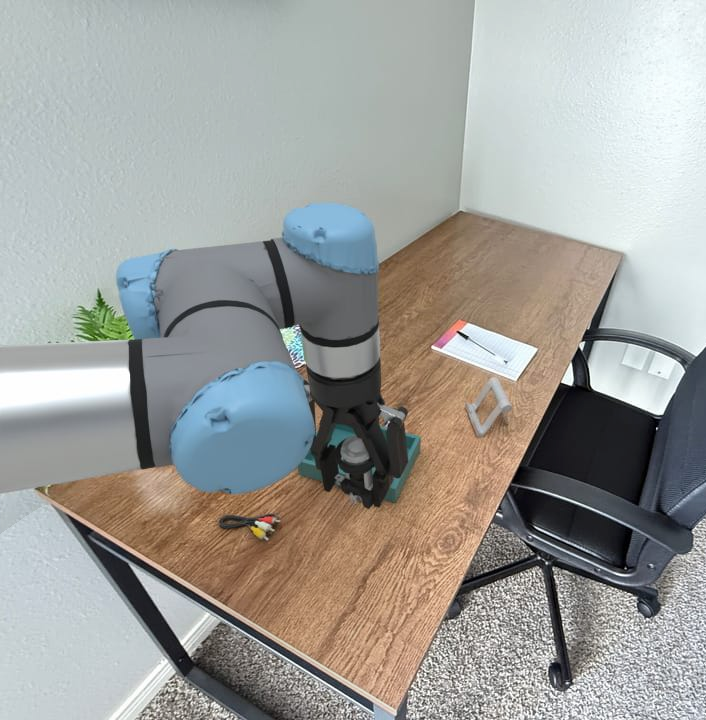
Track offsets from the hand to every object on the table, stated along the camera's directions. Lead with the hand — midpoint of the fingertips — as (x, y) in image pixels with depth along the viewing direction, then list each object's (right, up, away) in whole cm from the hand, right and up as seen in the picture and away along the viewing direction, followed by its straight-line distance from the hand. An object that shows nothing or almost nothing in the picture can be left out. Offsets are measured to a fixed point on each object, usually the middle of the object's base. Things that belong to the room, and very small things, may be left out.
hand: (356, 491), depth 62 cm
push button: (0, 0, 0) cm, 0 cm away
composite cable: (-20, -9, +13) cm, 26 cm away
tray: (-6, -2, +25) cm, 26 cm away
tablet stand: (+18, +5, +37) cm, 42 cm away
